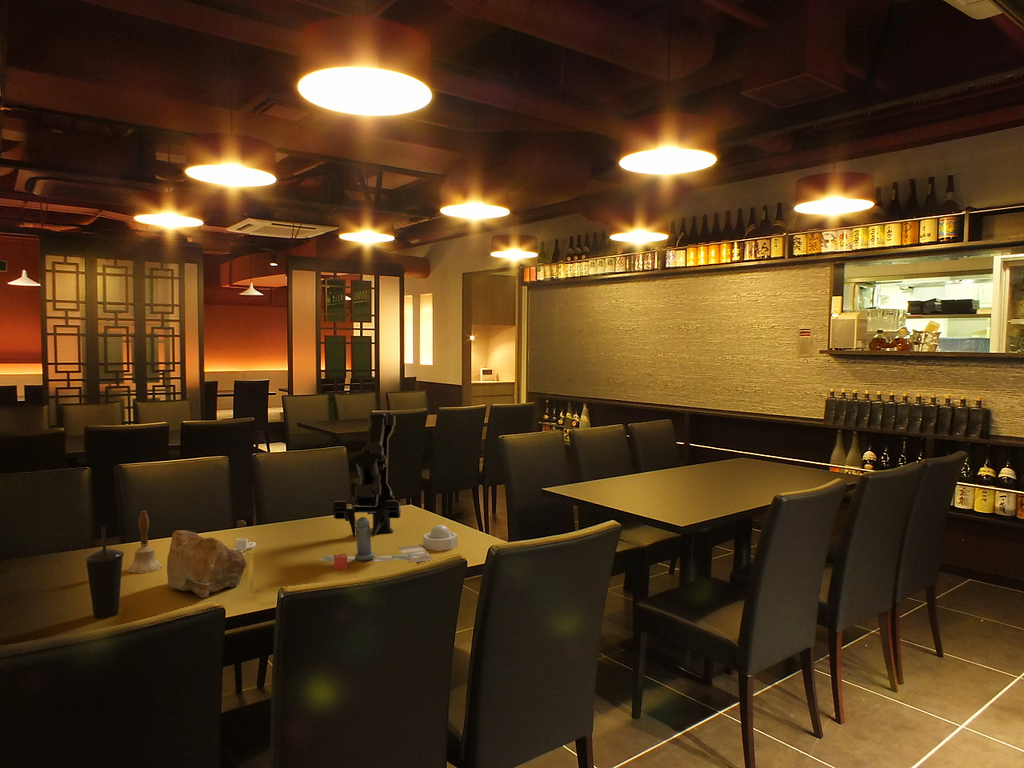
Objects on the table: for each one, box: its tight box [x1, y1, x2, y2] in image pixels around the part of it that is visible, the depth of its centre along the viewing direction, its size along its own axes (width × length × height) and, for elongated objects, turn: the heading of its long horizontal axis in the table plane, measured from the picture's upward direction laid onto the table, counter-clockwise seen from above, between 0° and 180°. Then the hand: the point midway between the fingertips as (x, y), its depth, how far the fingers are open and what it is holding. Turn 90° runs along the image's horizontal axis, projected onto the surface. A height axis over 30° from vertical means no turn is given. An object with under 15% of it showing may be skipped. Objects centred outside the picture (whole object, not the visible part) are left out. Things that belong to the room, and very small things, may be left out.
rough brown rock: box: [166, 529, 247, 599], centre depth 174 cm, size 23×16×15 cm
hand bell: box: [127, 510, 163, 574], centre depth 190 cm, size 8×8×16 cm
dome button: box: [428, 524, 452, 539], centre depth 211 cm, size 7×7×6 cm
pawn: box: [354, 516, 375, 561], centre depth 194 cm, size 5×5×11 cm
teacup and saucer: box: [234, 537, 257, 551], centre depth 206 cm, size 9×8×4 cm
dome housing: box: [422, 531, 458, 552], centre depth 211 cm, size 10×10×3 cm
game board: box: [318, 544, 434, 565], centre depth 196 cm, size 16×30×1 cm, turn 110°
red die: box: [333, 553, 348, 570], centre depth 187 cm, size 3×3×3 cm
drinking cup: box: [84, 526, 125, 619], centre depth 157 cm, size 8×8×20 cm
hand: (363, 536), depth 192 cm, fingers open, 5 cm apart
